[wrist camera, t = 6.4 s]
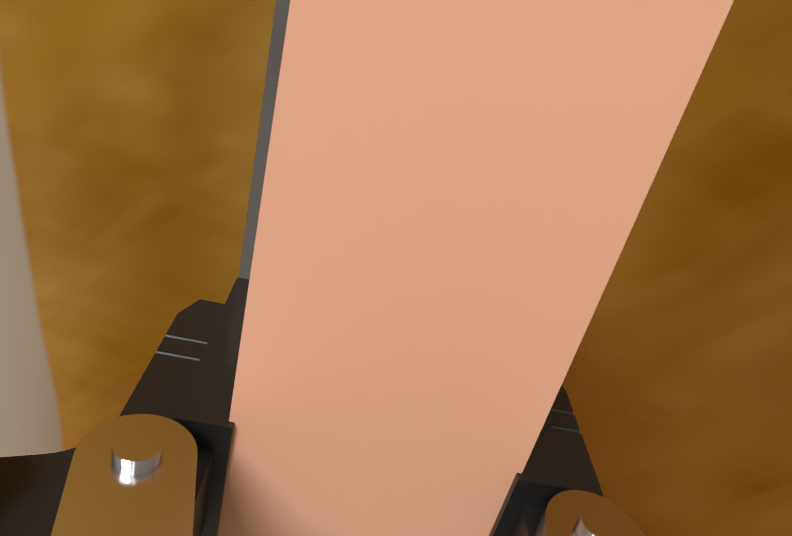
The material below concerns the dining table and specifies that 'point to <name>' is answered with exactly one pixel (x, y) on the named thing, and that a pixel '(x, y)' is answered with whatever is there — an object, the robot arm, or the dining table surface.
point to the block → (439, 246)
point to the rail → (264, 133)
